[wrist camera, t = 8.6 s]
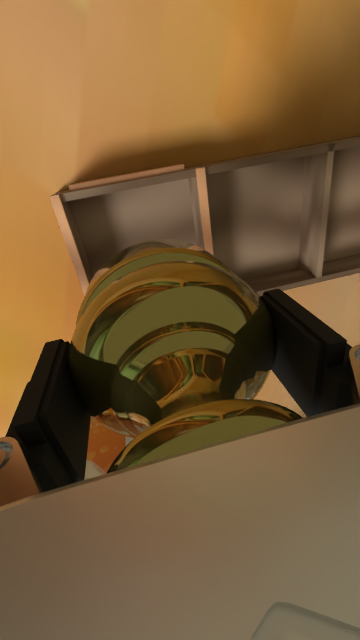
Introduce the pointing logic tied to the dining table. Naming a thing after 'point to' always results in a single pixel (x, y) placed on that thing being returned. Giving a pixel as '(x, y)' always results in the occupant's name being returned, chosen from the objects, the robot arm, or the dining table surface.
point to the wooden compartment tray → (229, 214)
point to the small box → (102, 448)
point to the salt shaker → (172, 352)
